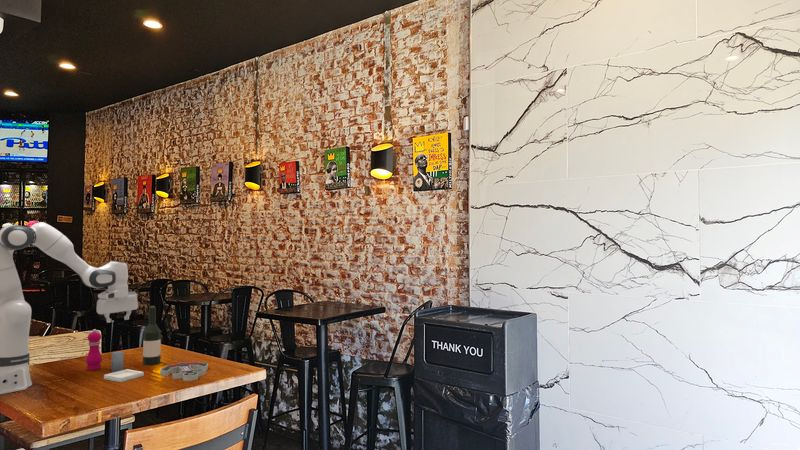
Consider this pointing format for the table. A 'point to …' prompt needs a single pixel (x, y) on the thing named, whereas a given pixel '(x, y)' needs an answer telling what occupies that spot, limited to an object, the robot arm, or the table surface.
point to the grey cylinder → (117, 361)
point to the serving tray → (123, 375)
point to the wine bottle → (152, 340)
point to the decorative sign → (185, 370)
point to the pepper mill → (94, 351)
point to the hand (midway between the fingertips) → (118, 321)
